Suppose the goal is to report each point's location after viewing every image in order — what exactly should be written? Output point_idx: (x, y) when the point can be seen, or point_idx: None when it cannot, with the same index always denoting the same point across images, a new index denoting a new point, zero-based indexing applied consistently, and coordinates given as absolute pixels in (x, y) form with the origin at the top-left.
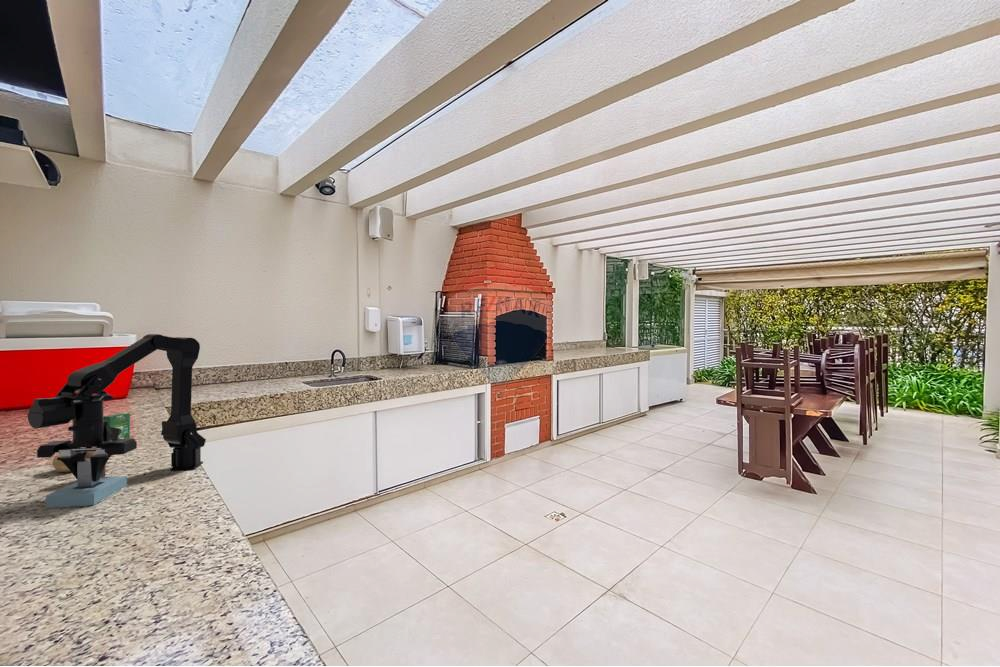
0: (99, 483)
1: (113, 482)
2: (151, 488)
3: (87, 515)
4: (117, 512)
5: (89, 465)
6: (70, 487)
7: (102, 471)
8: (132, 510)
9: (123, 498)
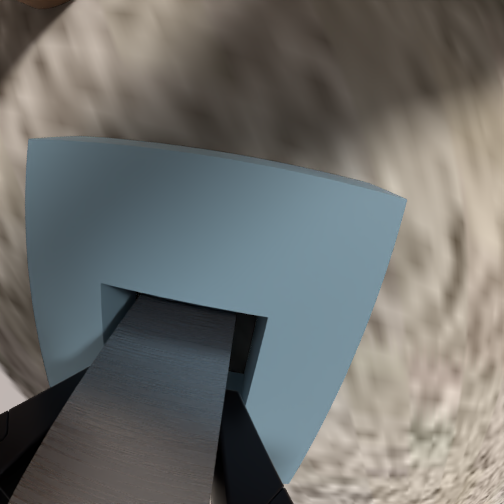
0: (232, 339)
1: (343, 359)
2: (493, 264)
3: (299, 488)
4: (382, 480)
5: None
6: (78, 361)
7: (263, 445)
8: (419, 471)
9: (390, 384)
